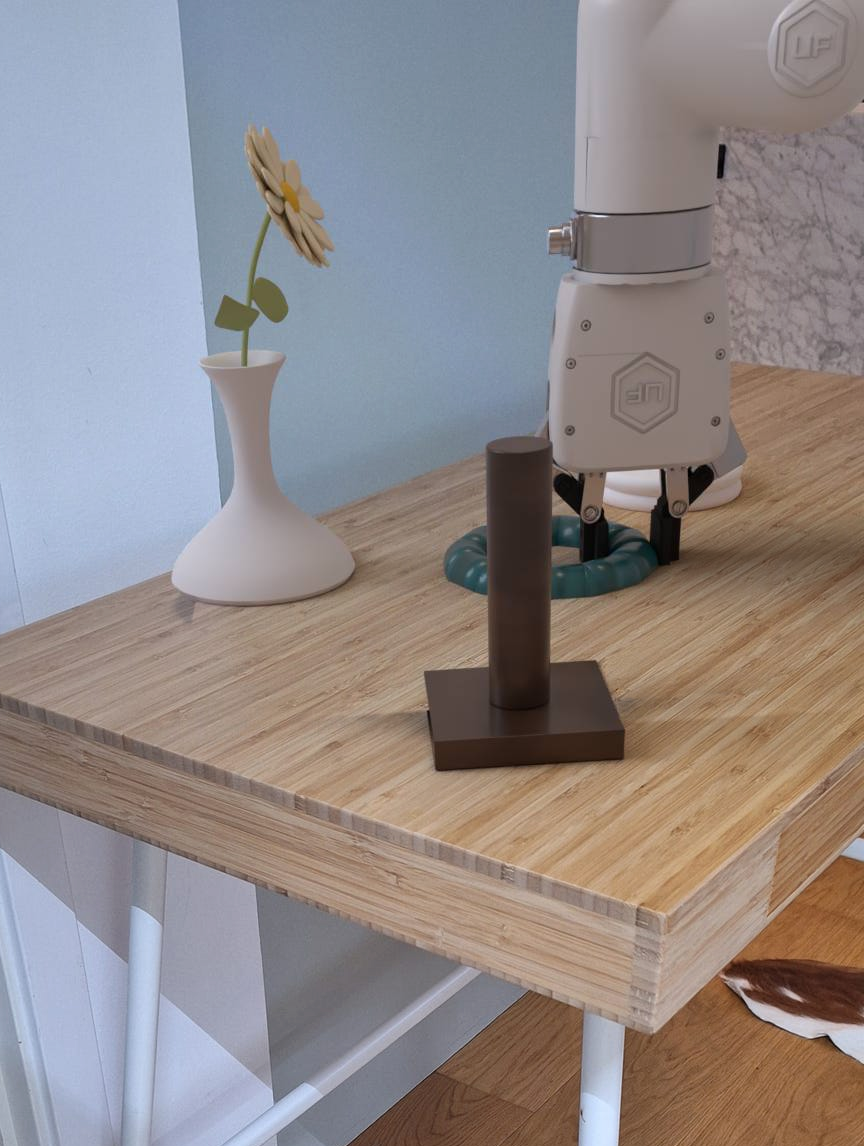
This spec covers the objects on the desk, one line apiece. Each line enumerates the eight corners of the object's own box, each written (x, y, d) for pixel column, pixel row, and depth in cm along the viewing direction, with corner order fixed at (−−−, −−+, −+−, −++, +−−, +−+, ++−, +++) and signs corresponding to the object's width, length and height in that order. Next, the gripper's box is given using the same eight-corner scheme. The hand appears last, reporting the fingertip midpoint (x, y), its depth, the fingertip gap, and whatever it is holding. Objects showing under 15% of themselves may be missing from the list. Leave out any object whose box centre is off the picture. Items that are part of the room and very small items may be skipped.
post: (595, 687, 77) (604, 414, 69) (623, 758, 70) (637, 462, 62) (424, 697, 77) (413, 427, 69) (435, 770, 70) (424, 476, 62)
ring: (634, 548, 96) (636, 504, 94) (672, 614, 85) (675, 566, 84) (439, 561, 96) (437, 517, 94) (452, 628, 85) (451, 580, 84)
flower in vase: (286, 640, 85) (239, 137, 71) (137, 613, 91) (65, 140, 76) (405, 574, 94) (385, 114, 80) (262, 552, 99) (219, 118, 85)
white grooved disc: (564, 519, 102) (565, 466, 100) (644, 485, 108) (647, 435, 106) (689, 542, 96) (693, 487, 94) (766, 505, 102) (771, 452, 100)
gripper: (498, 264, 77) (500, 609, 88) (811, 244, 77) (775, 592, 87) (485, 245, 83) (489, 570, 94) (775, 227, 83) (746, 553, 94)
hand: (627, 577), depth 90 cm, fingers closed on ring, 3 cm apart
